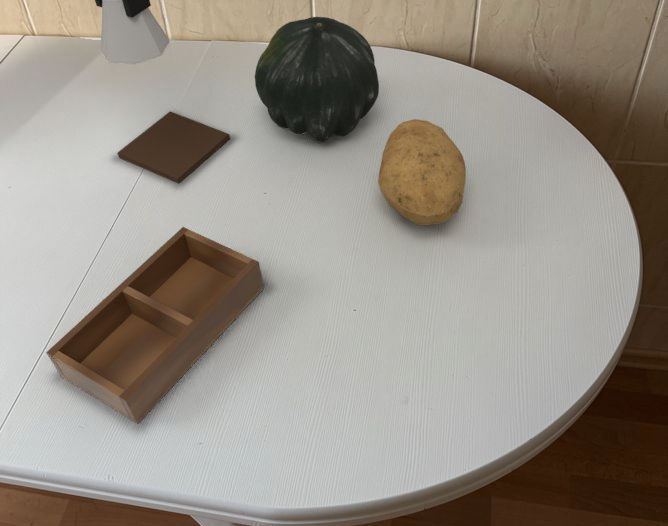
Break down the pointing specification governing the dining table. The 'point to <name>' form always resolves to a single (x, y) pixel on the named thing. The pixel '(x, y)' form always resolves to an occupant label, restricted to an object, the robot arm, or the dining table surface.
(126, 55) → the flask
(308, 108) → the squash
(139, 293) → the wooden divided tray
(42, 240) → the dining table surface
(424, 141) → the potato
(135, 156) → the coaster
